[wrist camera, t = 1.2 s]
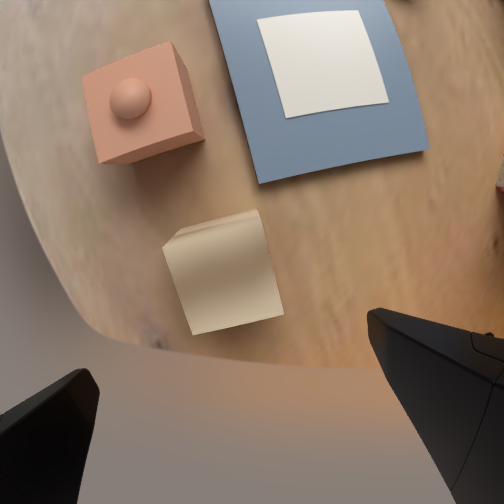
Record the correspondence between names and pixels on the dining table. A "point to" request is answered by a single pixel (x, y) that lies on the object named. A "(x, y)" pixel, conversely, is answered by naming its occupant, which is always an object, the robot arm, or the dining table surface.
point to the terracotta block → (141, 106)
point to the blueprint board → (318, 83)
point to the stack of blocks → (501, 177)
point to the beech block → (223, 272)
